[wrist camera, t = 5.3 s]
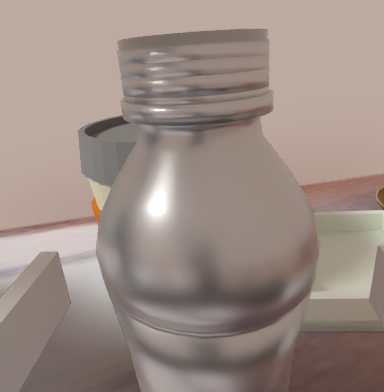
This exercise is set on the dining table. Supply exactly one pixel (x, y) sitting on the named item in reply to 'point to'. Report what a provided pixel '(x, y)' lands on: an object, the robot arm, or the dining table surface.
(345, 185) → the dining table surface
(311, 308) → the tray
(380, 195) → the plant saucer
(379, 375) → the dining table surface
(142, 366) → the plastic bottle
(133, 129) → the reusable coffee cup
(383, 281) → the robot arm
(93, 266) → the dining table surface
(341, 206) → the dining table surface
